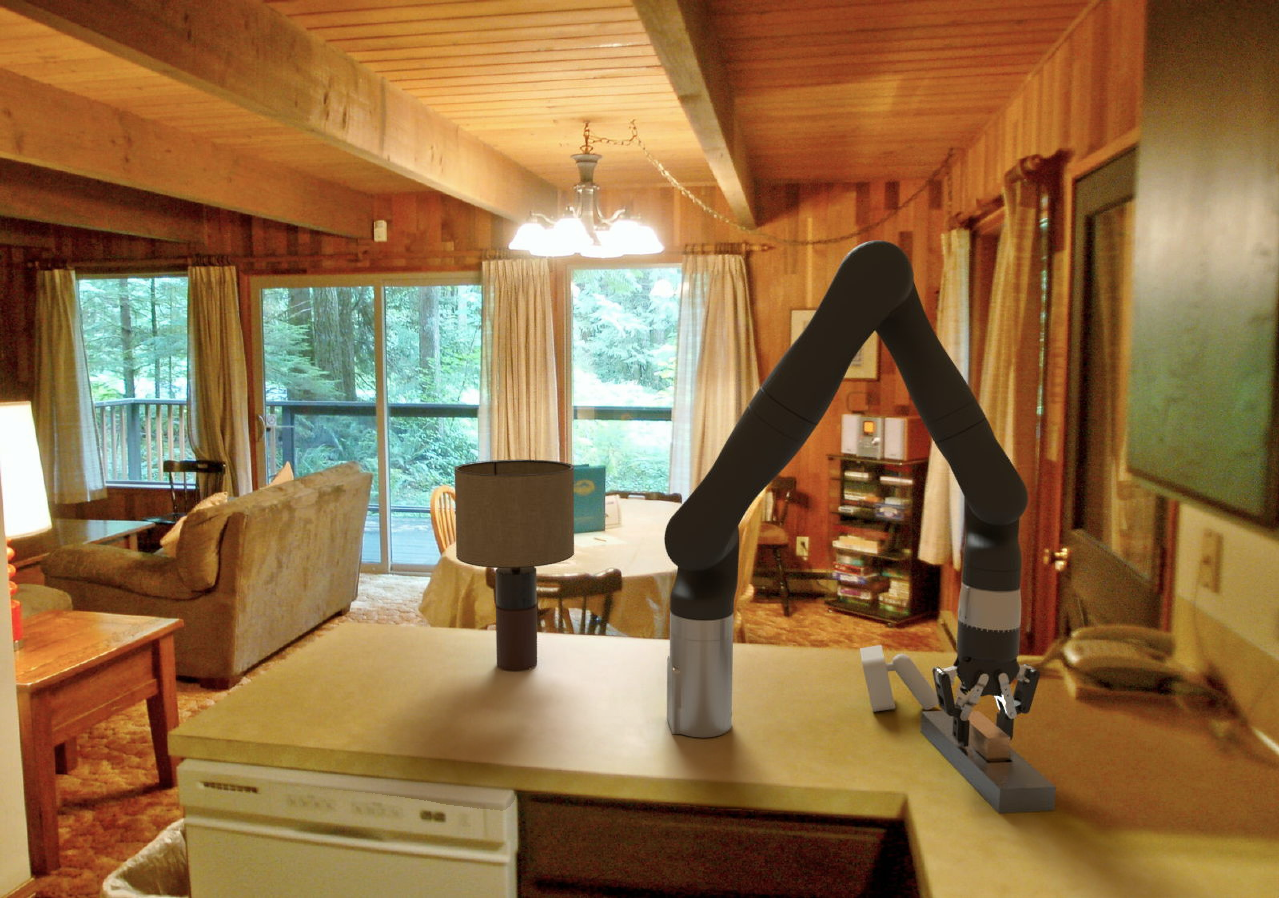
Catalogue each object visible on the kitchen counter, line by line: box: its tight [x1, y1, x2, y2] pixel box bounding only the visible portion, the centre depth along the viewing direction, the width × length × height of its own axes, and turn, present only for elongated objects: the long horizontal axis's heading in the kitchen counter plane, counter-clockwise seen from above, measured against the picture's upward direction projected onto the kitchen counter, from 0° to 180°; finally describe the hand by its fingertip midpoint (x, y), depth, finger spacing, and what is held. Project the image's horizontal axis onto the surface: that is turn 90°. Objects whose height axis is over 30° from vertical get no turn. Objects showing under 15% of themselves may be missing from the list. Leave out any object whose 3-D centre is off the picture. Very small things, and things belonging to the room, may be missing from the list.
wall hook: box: [859, 644, 939, 713], centre depth 131 cm, size 8×10×10 cm
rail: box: [920, 710, 1057, 814], centre depth 112 cm, size 22×7×3 cm, turn 5°
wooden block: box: [968, 710, 1011, 763], centre depth 112 cm, size 8×3×6 cm, turn 6°
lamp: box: [454, 459, 575, 672], centre depth 147 cm, size 20×20×35 cm
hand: (982, 742), depth 112 cm, fingers open, 5 cm apart
